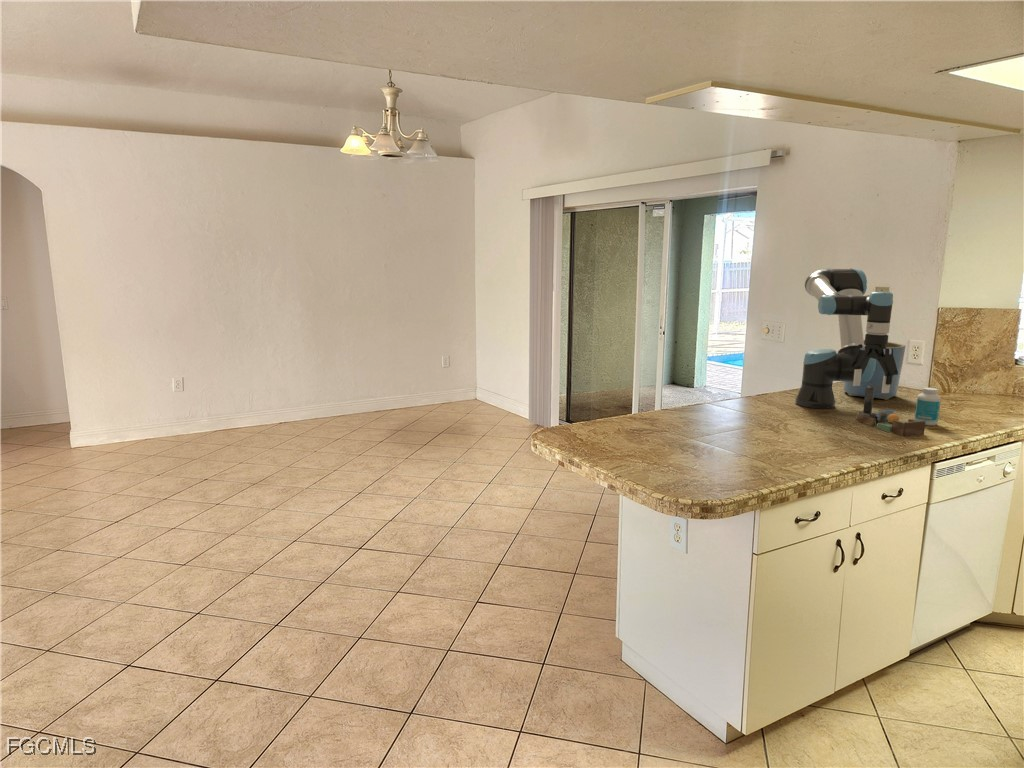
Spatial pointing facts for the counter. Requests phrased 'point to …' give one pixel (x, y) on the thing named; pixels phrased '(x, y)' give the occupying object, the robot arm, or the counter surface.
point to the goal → (908, 427)
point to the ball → (893, 418)
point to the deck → (885, 426)
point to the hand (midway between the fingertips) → (870, 389)
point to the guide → (867, 419)
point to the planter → (880, 376)
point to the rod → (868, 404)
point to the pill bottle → (928, 406)
